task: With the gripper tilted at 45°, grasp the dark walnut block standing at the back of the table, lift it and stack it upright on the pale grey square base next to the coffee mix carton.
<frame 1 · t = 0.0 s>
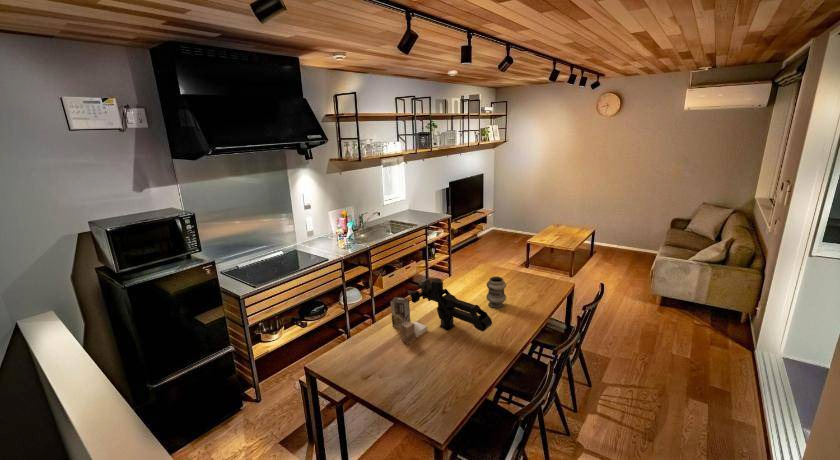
hand: (413, 288, 230), 17 cm above the table, tool horizontal, fingers open, 9 cm apart
base plinth: (416, 331, 215), on the table
coffee box: (401, 325, 222), on the table
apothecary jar: (496, 305, 240), on the table
walnut block: (408, 340, 207), on the table
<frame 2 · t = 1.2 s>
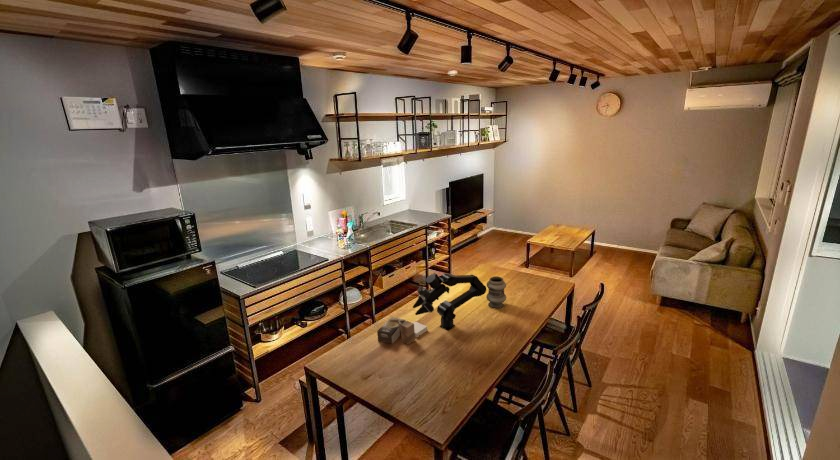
hand: (414, 310, 210), 14 cm above the table, tool tilted 55°, fingers open, 9 cm apart
coffee box: (398, 322, 219), point 3 cm above the table
everything else where it was.
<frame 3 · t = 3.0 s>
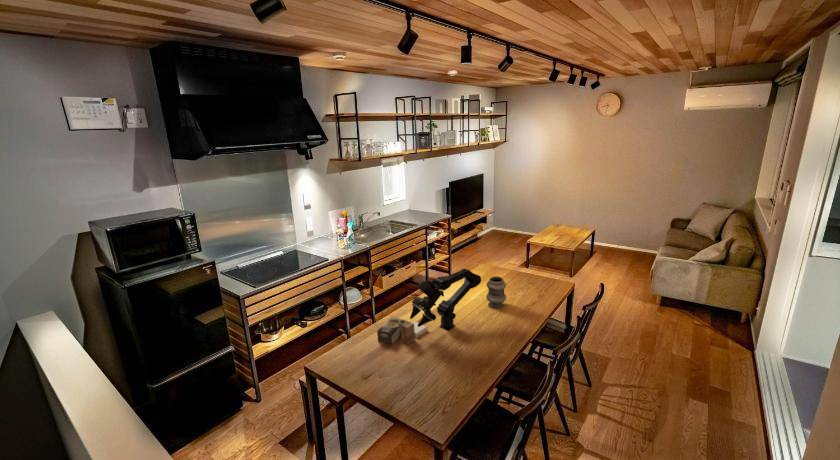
hand: (414, 322, 205), 10 cm above the table, tool tilted 45°, fingers open, 9 cm apart
nothing on the table moved.
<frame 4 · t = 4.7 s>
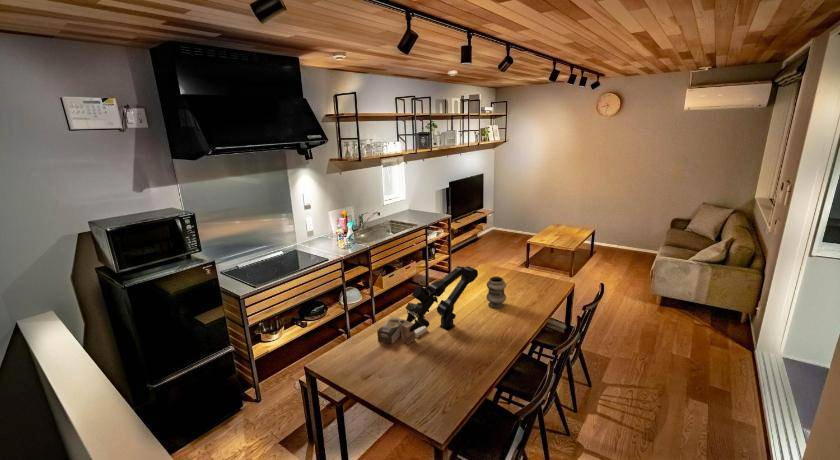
hand: (407, 328, 205), 7 cm above the table, tool tilted 45°, fingers closed on walnut block, 6 cm apart
walnut block: (408, 340, 206), on the table, touching gripper
everything else where it was.
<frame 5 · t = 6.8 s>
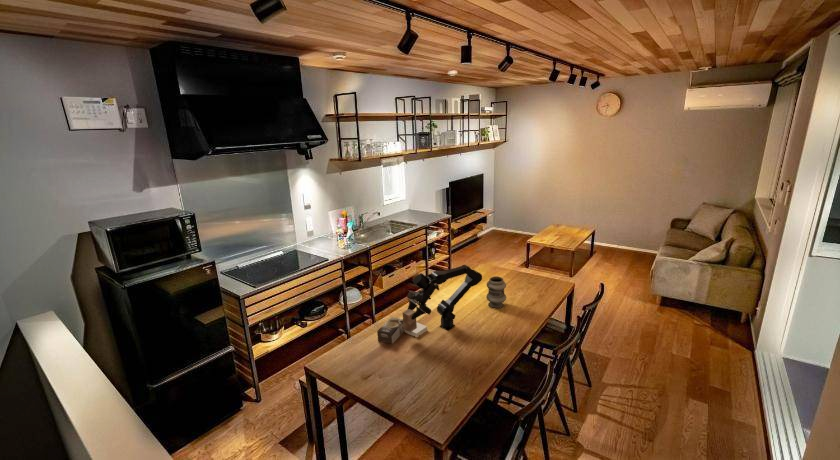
hand: (409, 316, 205), 13 cm above the table, tool tilted 45°, fingers closed on walnut block, 6 cm apart
walnut block: (410, 328, 207), point 6 cm above the table, touching gripper
everything else where it was.
when the fingers open (10 cm above the table, at t = 9.0 s): walnut block stays where it is, resting on base plinth.
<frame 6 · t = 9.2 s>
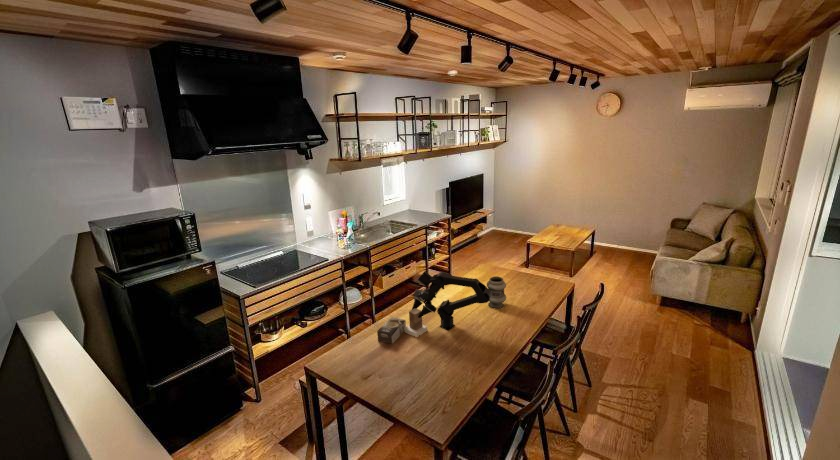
hand: (415, 314, 212), 11 cm above the table, tool tilted 45°, fingers open, 8 cm apart
walnut block: (416, 327, 214), point 2 cm above the table, touching base plinth
everything else where it was.
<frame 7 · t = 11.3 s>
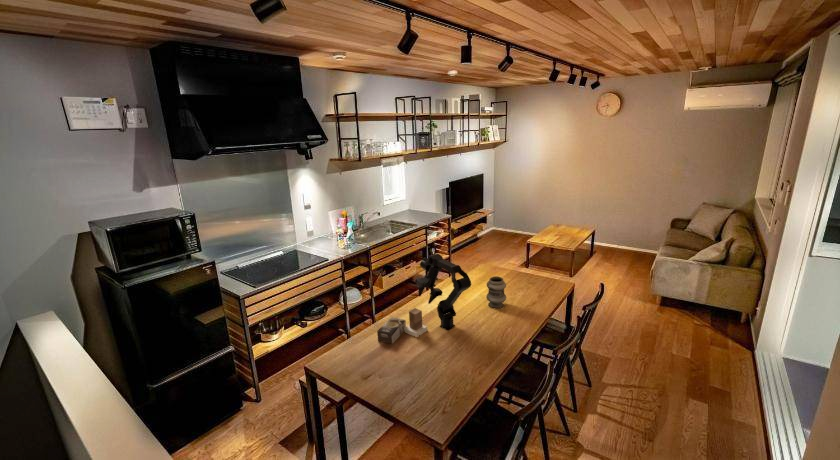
hand: (424, 299, 222), 14 cm above the table, tool tilted 20°, fingers open, 9 cm apart
nothing on the table moved.
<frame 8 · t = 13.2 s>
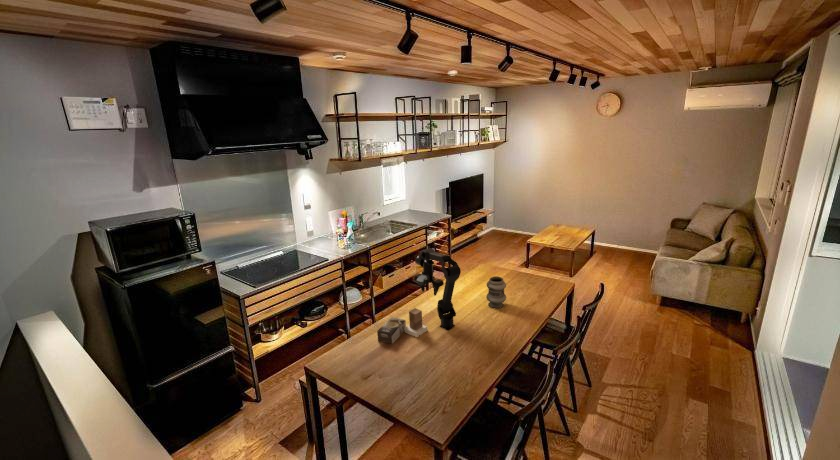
hand: (429, 293, 230), 13 cm above the table, tool pointing down, fingers open, 9 cm apart
nothing on the table moved.
at the end: walnut block 0.2 cm off-centre on the base plinth, point 2.5 cm above the base plinth's base; walnut block tilted 0°; the gripper is holding nothing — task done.
